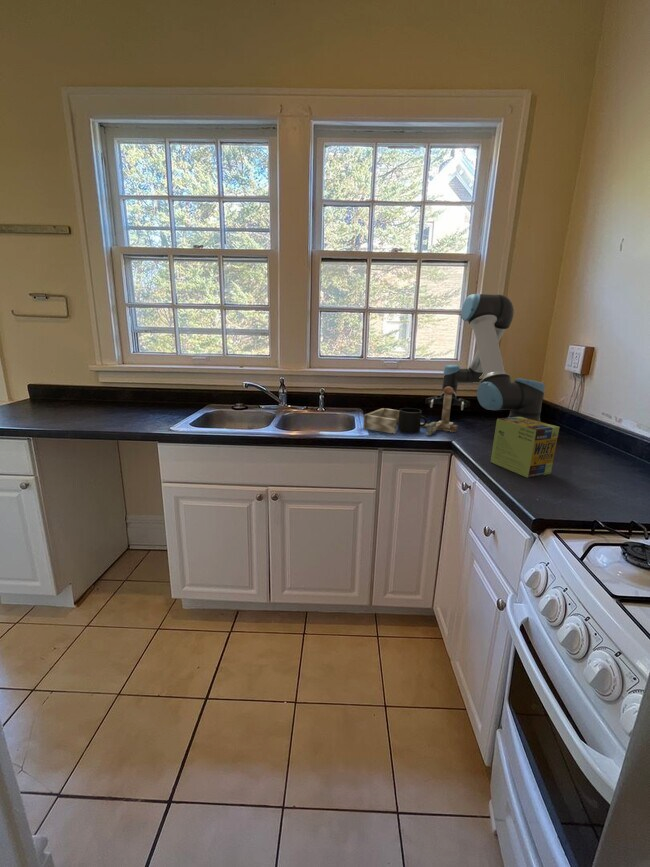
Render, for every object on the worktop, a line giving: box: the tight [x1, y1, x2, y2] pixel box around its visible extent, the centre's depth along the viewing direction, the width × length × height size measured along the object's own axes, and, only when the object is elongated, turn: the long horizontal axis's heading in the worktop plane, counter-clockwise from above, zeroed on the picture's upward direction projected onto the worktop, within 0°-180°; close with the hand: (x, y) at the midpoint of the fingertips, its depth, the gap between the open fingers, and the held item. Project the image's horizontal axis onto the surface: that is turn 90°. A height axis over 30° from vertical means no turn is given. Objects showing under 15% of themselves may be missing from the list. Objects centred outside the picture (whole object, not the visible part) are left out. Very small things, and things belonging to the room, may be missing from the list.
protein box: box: [490, 416, 561, 478], centre depth 127 cm, size 10×15×16 cm
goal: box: [362, 407, 399, 435], centre depth 176 cm, size 15×19×6 cm
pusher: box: [425, 386, 454, 436], centre depth 167 cm, size 6×16×19 cm, turn 147°
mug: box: [397, 407, 428, 434], centre depth 170 cm, size 9×12×9 cm
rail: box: [420, 422, 459, 433], centre depth 178 cm, size 26×4×2 cm, turn 57°
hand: (446, 405), depth 180 cm, fingers open, 13 cm apart
